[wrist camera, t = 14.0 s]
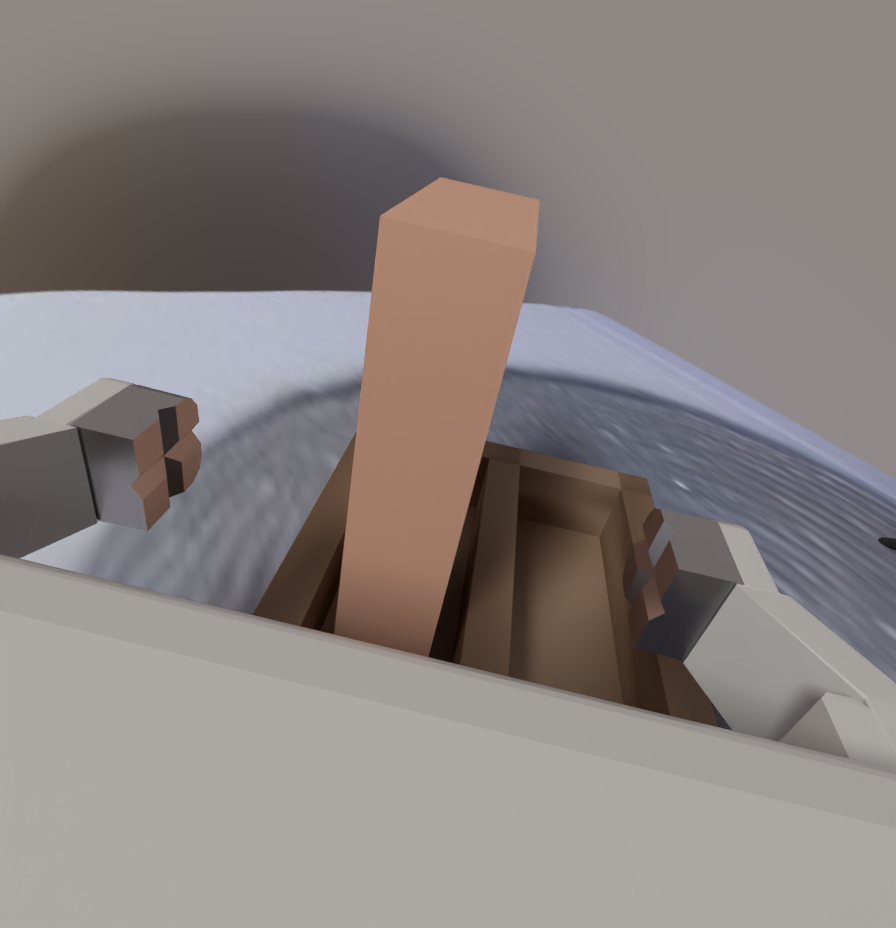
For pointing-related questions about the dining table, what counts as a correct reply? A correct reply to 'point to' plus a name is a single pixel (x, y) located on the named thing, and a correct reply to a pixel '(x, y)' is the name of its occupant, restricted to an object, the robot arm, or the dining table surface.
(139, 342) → the dining table surface
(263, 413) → the dining table surface
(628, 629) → the divided wooden tray
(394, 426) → the salmon orange rectangular block
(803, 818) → the robot arm
